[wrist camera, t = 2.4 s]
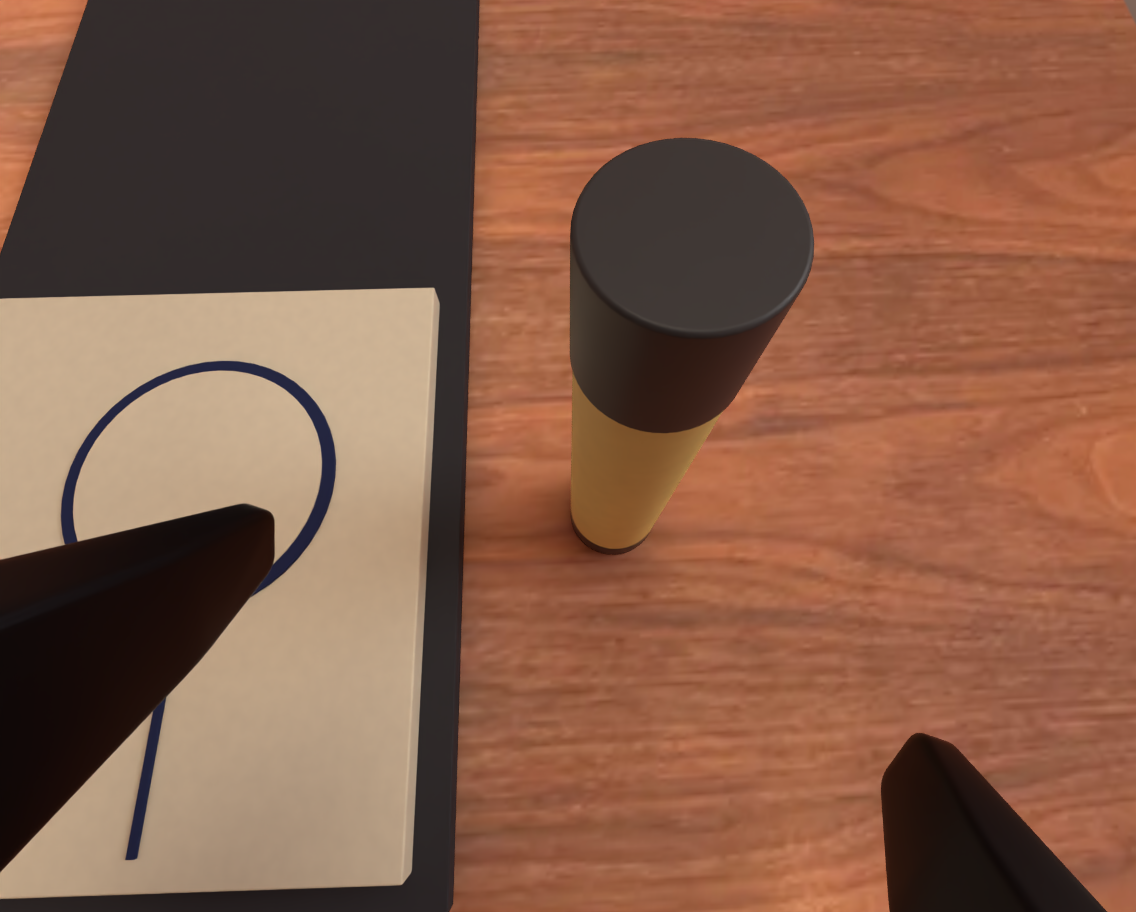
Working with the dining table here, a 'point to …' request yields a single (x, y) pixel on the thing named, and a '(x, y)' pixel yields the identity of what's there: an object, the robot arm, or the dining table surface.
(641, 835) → the dining table surface
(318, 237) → the long black board
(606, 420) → the disc
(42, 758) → the robot arm
